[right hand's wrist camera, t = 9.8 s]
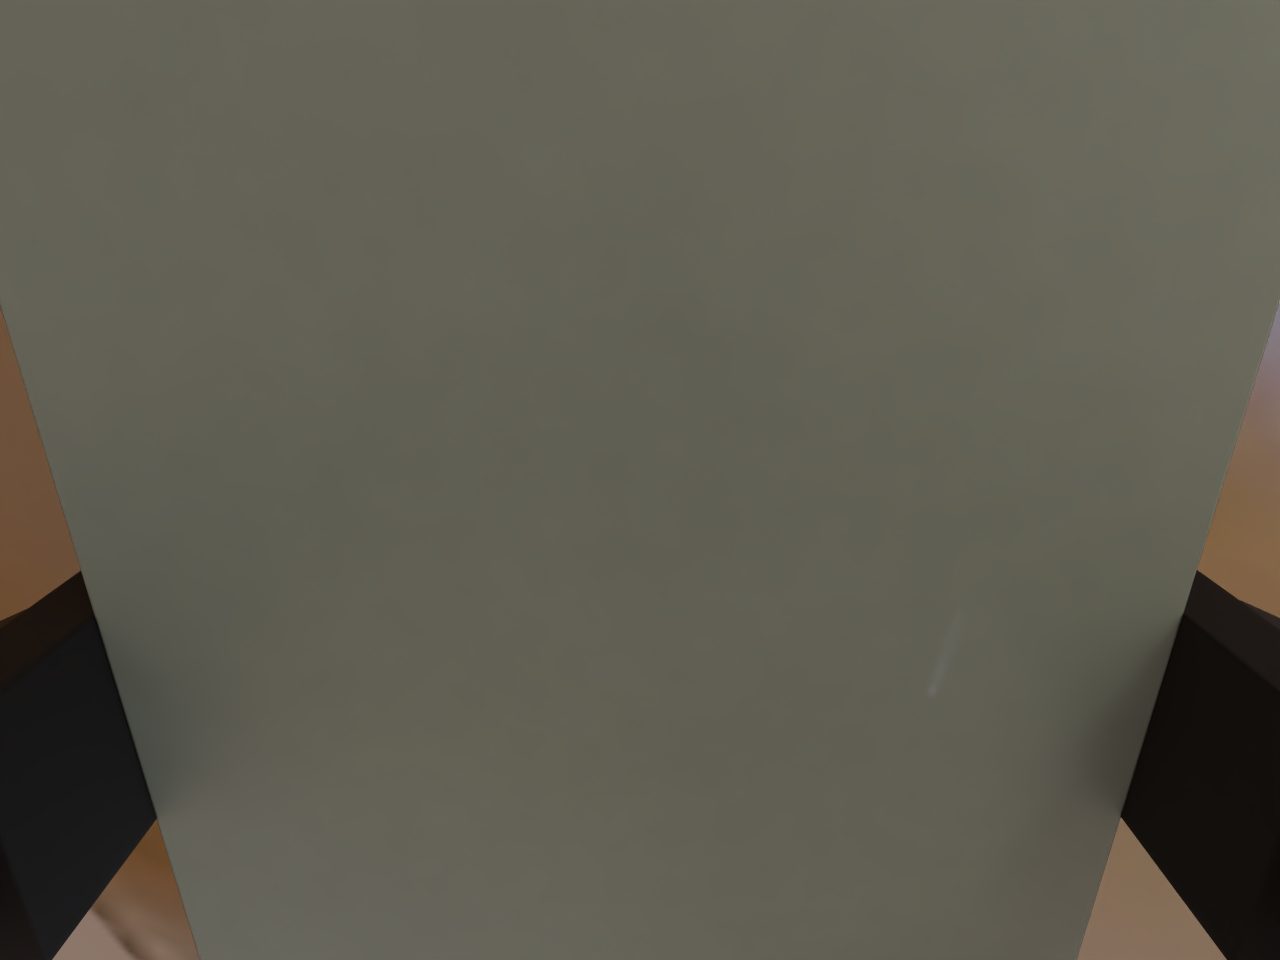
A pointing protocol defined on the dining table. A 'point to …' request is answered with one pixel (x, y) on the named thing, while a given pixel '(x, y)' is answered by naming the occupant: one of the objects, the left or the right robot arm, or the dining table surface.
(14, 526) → the dining table surface
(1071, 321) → the cabinet
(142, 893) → the dining table surface
